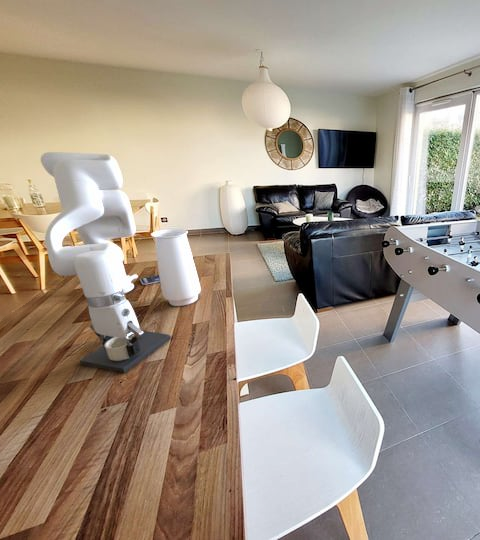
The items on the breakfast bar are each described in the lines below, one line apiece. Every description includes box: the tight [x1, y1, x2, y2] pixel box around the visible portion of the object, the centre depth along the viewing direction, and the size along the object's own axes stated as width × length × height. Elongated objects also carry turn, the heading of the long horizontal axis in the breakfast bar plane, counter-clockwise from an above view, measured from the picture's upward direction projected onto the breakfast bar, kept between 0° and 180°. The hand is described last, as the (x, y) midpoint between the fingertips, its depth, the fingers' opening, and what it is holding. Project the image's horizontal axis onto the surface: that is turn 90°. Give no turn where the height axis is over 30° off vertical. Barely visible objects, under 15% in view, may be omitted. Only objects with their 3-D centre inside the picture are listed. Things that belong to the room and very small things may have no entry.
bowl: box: [104, 335, 133, 361], centre depth 81 cm, size 7×7×4 cm
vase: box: [150, 228, 201, 307], centre depth 110 cm, size 13×13×28 cm
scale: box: [79, 326, 171, 373], centre depth 85 cm, size 16×14×3 cm
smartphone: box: [139, 274, 160, 286], centre depth 132 cm, size 8×1×15 cm
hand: (123, 352), depth 82 cm, fingers closed on bowl, 6 cm apart
